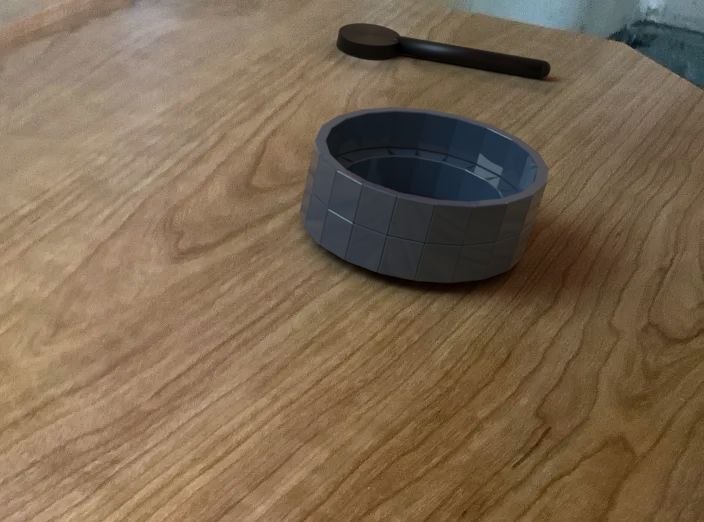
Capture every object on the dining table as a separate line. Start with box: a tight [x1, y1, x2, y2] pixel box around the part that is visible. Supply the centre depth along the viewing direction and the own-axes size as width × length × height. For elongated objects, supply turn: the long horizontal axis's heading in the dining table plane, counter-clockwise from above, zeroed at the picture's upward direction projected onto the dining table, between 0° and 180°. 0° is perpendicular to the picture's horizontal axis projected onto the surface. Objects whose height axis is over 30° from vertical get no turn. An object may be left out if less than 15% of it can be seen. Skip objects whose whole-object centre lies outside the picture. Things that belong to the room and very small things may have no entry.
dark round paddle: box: [335, 22, 552, 79], centre depth 99 cm, size 15×4×1 cm, turn 69°
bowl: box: [299, 106, 550, 284], centre depth 76 cm, size 12×12×5 cm
